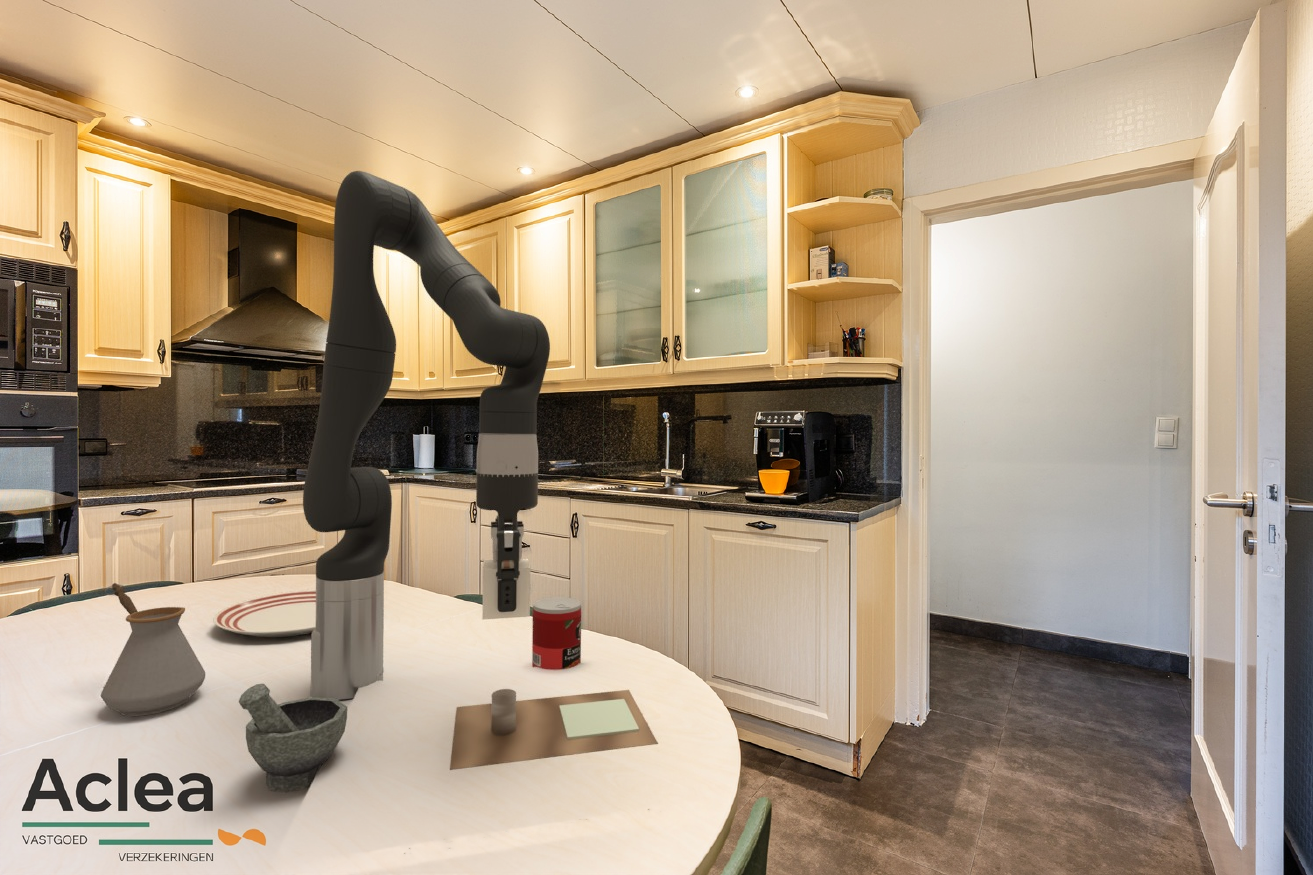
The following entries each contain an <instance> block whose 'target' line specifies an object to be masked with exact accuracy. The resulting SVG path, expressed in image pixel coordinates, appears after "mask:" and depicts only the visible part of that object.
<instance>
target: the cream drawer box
mask: <svg viewBox="0 0 1313 875" xmlns="http://www.w3.org/2000/svg"><path fill="white" fill-rule="evenodd" d="M507 568H514V564H513V562H502V569H507ZM519 571H520V575H519V578H518V580H517V593H516V610H515V611H513V612H499V611H498V607H497V606H498V581H497V578H496V572H497V563H496V562H494V561H493V559H484V560H483V566H482V615H481V616H482V617H481V619H482V620H496V619H497V620H498V619H509V618H510V619H512V618H513V619H514V618H529V617H530V616H531V564H530V561H529V558H521V560H520V561H519Z"/></svg>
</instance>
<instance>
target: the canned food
mask: <svg viewBox="0 0 1313 875" xmlns="http://www.w3.org/2000/svg"><path fill="white" fill-rule="evenodd" d="M531 642H532V643H531V644H532V646H531V647H532V651H531V652H532V653H531V654H532V656H531V657H532V659H531V661H532V668H539V669H543V670H550V671H551V670H554V671H555V670H556V671H557V670H566V669H571V668H574V667H575V666H578V665H579V664H582V663H581V662H582V661H581V660H582V658H581V656H582V603H581V601H580V600H578V599H575V598H572V597H565V596H553V597H545V598H541V599H538V600H536V601H534V602H533V605H532V641H531Z"/></svg>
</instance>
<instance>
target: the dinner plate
mask: <svg viewBox="0 0 1313 875" xmlns="http://www.w3.org/2000/svg"><path fill="white" fill-rule="evenodd" d="M212 621H213V623H214V625H215V626H217V627H219V628H221V629H223V630H224V631H225V630H226V631H228V632H232V633H235V634H241V635H248V636H252V637H259V638H282V637H285V638H286V637H293V636H295V637H296V636H300V635H301V636H302V635H307V634H312V632H313V631H314V629H315V628H316V589H310V590H309V589H307V590H295V591H289V592H288V591H287V592H281V593H280V592H279V593H274V594H267V595H264V596H263V595H262V596H259V597H254V598H250V599H247V600H243V601H240V602H237V603H234V604H231V605H229V606H227V607H225V608H223V609H221V610H219V611H218V612H217V613H215V614H214V616H213V618H212Z"/></svg>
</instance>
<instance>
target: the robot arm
mask: <svg viewBox="0 0 1313 875" xmlns="http://www.w3.org/2000/svg"><path fill="white" fill-rule="evenodd" d="M333 220H334V222H333V223H334V224H333V225H334V226H333V272H332V273H333V274H332V276H333V278H332V290H331V291H332V293H331V302H330V312H329V321H328V328H327V334H326V343H325V347H324V348H325V349H324V356H323V357H324V359H323V369H322V382H321V383H322V384H321V392H320V399H319V400H320V401H319V406H318V407H319V410H318V415H317V416H318V417H317V421H316V429H315V434H314V437H313V438H314V439H313V442H312V447H311V452H310V457H309V460H308V466H307V470H306V474H305V479H304V484H303V492H302V508H303V514H304V518H305V520H306V522H307V524H308V525H309V527H311V529H313V530H314V531H316V532H318V533H331V532H332V533H334V532H340V531H341V532H342V531H344V534H343V536H342V537H341V539H340V540H339V542H338V543H337V544H335V545H334V546H333V547H331V548H330V549H329V550H327V551H325V552H324V553H322V554H321V555H319V557H318V558H317V559H316V563H315V590H316V628H315V629H314V631H313V632H312V633H310V634H311V636H310V698H311V697H319V698H335V699H338V700H339V701H341V700H348V699H354V698H355V697H356V695H357V693H358V691H359V689H360V688H364V687H368V686H369V685H372V684H374V683H376V682H379V681H380V682H381V681H384V631H385V630H384V629H385V628H384V625H385V624H384V619H385V618H384V617H385V616H384V615H385V614H384V612H385V611H384V610H385V609H384V608H385V605H384V603H385V598H384V596H385V592H384V590H385V561H386V558H387V556H388V553H389V551H390V541H391V540H390V539H391V536H390V535H391V524H392V504H393V502H392V497H393V496H392V491H391V485H390V482H389V479H388V478H387V476H386V474H384V472H382V470H380V469H378V468H376V467H372V466H357V467H352V461H353V455H354V451H355V448H356V444H357V441H358V439H359V437H360V434H361V432H362V431H363V428H364V427H365V426H366V425H367V423H368V421H369V420H370V419H371V417H372V416H373V415H374V413H375V412H376V410H377V409H378V408H379V406H380V405H381V404H382V402H383V401H384V399H385V397H386V396H387V394H388V392H389V390H390V388H391V386H392V381H393V377H394V376H393V375H394V368H395V360H396V352H397V338H396V333H395V330H394V327H393V324H392V322H391V319H390V316H389V315H388V312H387V310H386V307H385V305H384V303H383V301H382V298H381V296H380V293H379V291H378V287H377V283H376V279H375V272H374V254H375V253H374V250H375V246H376V247H379V248H383V249H385V250H389V251H390V250H391V251H397V252H399V253H401V254H403V255H404V256H405V257H407V258H409V259H410V260H412V261H413V262H414V263H416V264H417V265H418V266H419V268H420V269H419V270H420V272H419V273H420V278H421V282H422V286H423V288H424V289H425V291H426V292H427V294H428V296H429V297H430V298H431V299H432V300H433V302H434V303H435V304H436V305H437V306H438V307H439V308H440V309H441V310H442V311H443V313H445V315H447V317H448V318H449V319H451V320H452V322H453V324H454V327H455V330H456V332H457V333H458V335H459V338H460V340H461V341H462V344H463V346H464V347H465V349H466V350H467V352H468V353H469V354H471V355H472V356H473V357H474V358H475V359H477V360H478V361H480V362H481V363H484V364H487V365H490V366H497V367H505V368H504V373H503V376H502V379H501V381H500V384H497V385H493V386H492V385H491V386H489V387H486V388H484V389H483V390H482V392H481V394H480V396H479V407H478V410H479V414H478V415H479V417H478V418H479V422H478V424H479V426H478V428H479V429H478V433H479V434H478V441H477V442H478V443H477V449H476V482H475V483H476V484H475V485H476V488H475V489H476V490H475V492H476V494H475V495H476V496H475V498H476V499H475V500H476V502H475V503H476V504H475V505H476V506H477V508H479V509H480V510H485V511H495V512H497V515H496V518H495V521H491V522H490V538H491V540H492V560H493V561H494V562H496V563H497V572H496V578H497V581H498V606H497V607H498V611H499V612H513V611H515V610H516V593H517V580H518V578H519V575H520V571H519V561H520V560H521V559H523V558H522V556H523V543H522V542H523V541H522V540H523V538H524V535H525V531H524V530H525V528H524V527H525V526H524V525H525V524H524V523H523V520H518V513H519V512H520V511H522V510H525V511H527V510H531V509H534V508H535V507H537V506H538V503H539V498H538V497H539V449H538V440H537V437H538V436H537V432H538V430H537V427H538V426H537V423H538V422H537V419H538V418H537V417H538V414H537V413H538V411H537V410H538V407H537V406H538V399H539V395H540V392H541V391H542V390H541V389H542V385H543V382H544V378H545V374H546V370H547V366H548V362H549V358H550V352H551V342H550V341H551V340H550V336H549V333H548V330H547V328H546V326H545V324H544V322H543V321H542V320H541V319H540V318H538V317H537V316H535V315H531V314H528V313H525V312H524V313H523V312H519V311H515V310H511V309H507V308H504V307H501V304H502V302H501V297H500V294H499V291H498V290H497V288H496V287H495V286H494V285H493V284H492V283H491V282H490V280H489V279H487V278H486V277H485V275H483V274H482V273H481V271H479V270H478V269H477V268H476V267H475V266H474V265H473V264H472V263H471V262H469V260H468V259H466V257H465V256H463V255H462V253H460V252H459V250H458V249H457V248H456V247H455V246H454V244H453V243H452V242H451V241H450V240H449V238H448V237H447V235H446V234H445V233H444V231H443V230H442V228H440V227H441V226H439V224H438V223H437V222H436V220H435V219H434V217H433V215H432V214H431V212H430V211H429V210H428V208H427V207H426V205H425V204H424V203H423V201H422V200H421V199H420V198H419V197H418V196H417V195H416V194H415V193H414V192H412V191H410V190H409V189H408V188H406V187H404V186H400V185H399V184H395V183H393V182H391V181H389V180H387V179H384V178H381V177H379V176H377V175H374V174H371V173H370V172H369V173H368V172H366V171H362V170H354V171H351V172H349V173H348V174H347V175H345V177H344V179H343V180H342V182H341V183H340V185H339V188H338V191H337V195H336V199H335V205H334V218H333ZM502 562H513V564H514V568H507V569H502Z"/></svg>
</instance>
